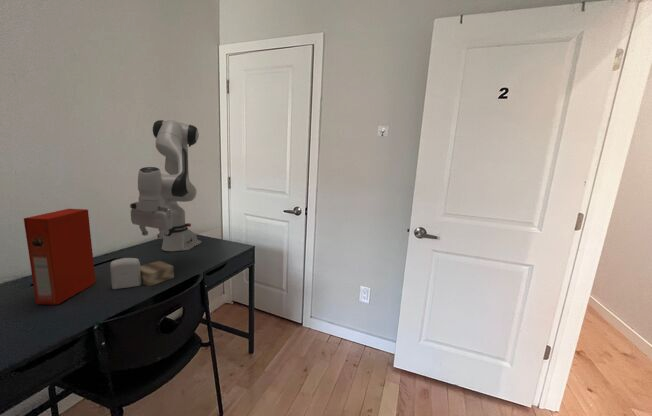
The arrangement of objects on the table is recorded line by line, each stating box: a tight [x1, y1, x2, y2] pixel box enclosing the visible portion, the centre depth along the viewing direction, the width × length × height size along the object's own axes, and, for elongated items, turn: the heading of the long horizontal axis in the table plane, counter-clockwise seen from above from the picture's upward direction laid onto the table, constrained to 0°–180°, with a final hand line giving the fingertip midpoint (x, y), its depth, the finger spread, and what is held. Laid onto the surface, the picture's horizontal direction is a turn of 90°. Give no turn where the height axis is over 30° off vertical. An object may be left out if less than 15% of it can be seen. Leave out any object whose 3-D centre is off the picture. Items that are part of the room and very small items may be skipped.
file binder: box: [23, 208, 96, 306], centre depth 106 cm, size 8×17×32 cm, turn 2°
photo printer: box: [109, 257, 142, 290], centre depth 116 cm, size 10×4×12 cm, turn 117°
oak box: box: [140, 260, 175, 287], centre depth 125 cm, size 11×11×6 cm
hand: (152, 236), depth 122 cm, fingers open, 7 cm apart
